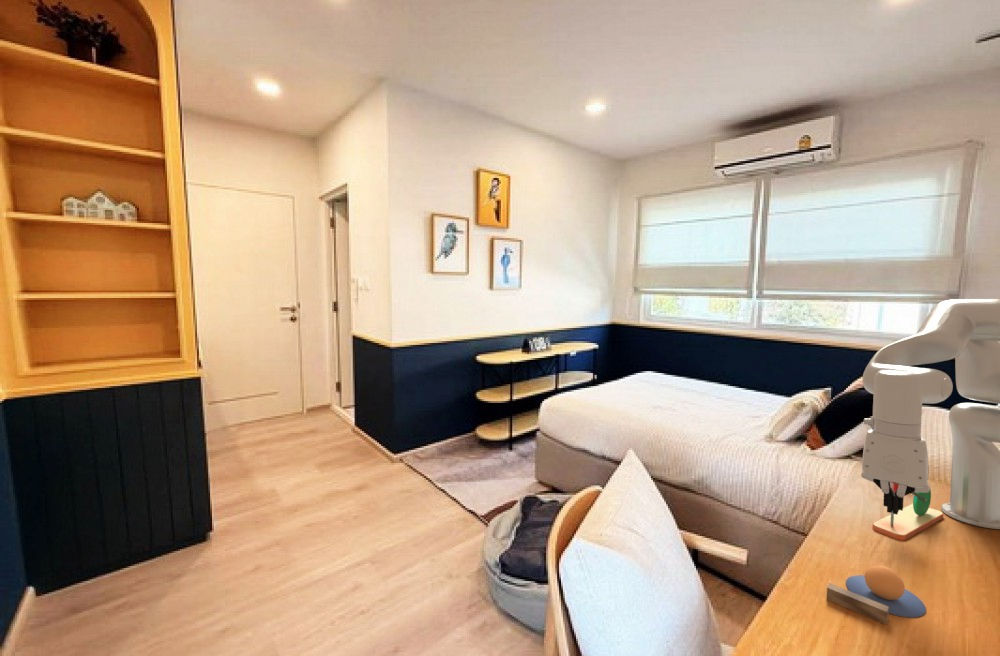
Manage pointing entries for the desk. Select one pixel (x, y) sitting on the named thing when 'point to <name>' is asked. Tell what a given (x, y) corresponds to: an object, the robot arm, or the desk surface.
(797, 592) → the desk surface
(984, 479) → the robot arm
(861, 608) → the stopper strip
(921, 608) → the mark
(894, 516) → the crank mechanism
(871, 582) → the ball
